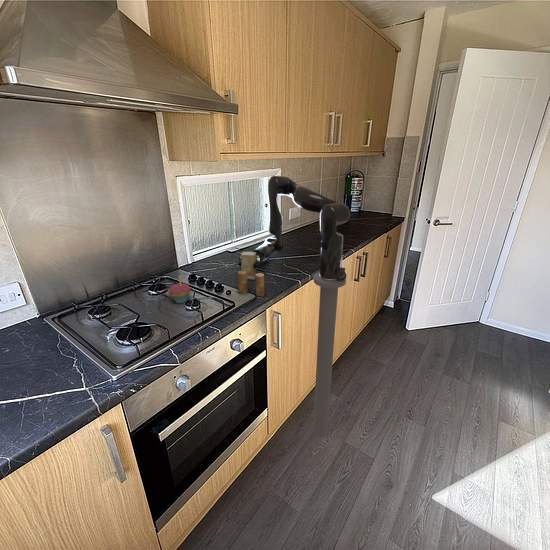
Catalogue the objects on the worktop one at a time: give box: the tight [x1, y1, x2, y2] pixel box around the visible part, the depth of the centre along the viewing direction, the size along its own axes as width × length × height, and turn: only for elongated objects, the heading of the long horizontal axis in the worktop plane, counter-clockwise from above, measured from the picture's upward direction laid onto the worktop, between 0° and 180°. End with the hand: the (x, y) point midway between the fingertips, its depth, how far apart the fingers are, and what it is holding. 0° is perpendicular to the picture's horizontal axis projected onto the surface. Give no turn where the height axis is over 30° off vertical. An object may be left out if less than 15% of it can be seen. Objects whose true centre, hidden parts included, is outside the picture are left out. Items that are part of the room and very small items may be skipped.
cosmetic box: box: [240, 251, 257, 280], centre depth 136 cm, size 6×4×12 cm
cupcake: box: [167, 275, 192, 304], centre depth 116 cm, size 9×8×12 cm
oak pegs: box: [237, 270, 266, 297], centre depth 122 cm, size 12×4×9 cm, turn 68°
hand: (246, 265), depth 134 cm, fingers closed on cosmetic box, 7 cm apart
